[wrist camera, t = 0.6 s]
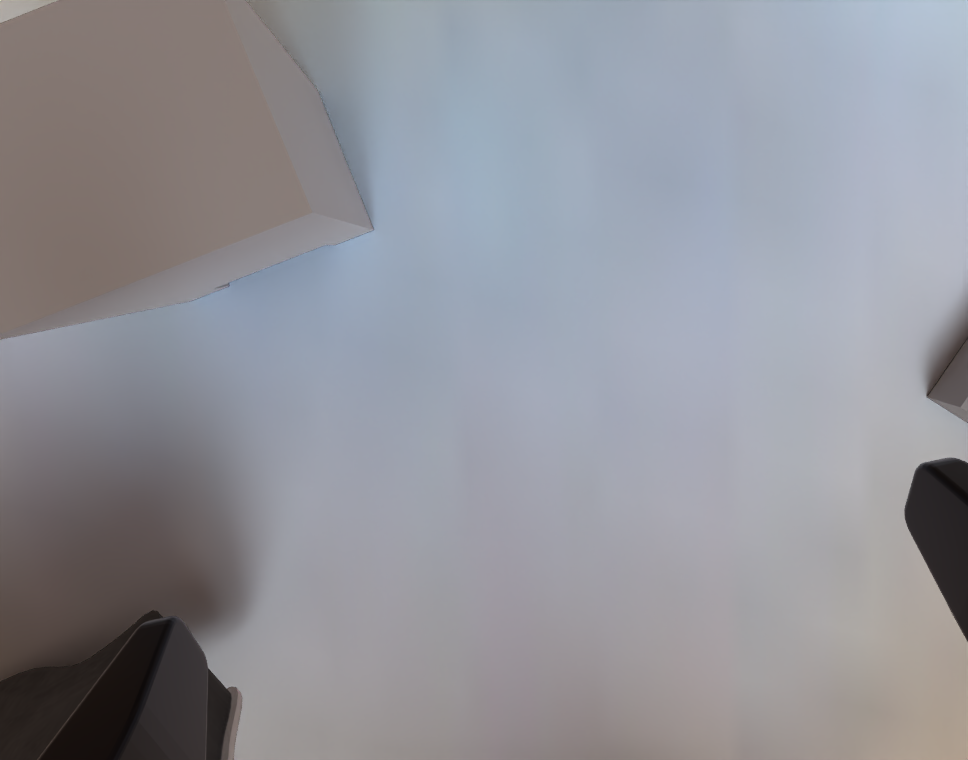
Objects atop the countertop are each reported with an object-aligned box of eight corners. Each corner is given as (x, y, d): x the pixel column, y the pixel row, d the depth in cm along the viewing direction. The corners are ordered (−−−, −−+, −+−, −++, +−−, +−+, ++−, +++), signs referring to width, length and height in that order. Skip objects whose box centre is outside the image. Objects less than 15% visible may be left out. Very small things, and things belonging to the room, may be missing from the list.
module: (373, 230, 21) (312, 212, 11) (190, 301, 21) (-29, 345, 11) (311, 74, 20) (187, -89, 11) (121, 149, 21) (-178, 55, 11)
